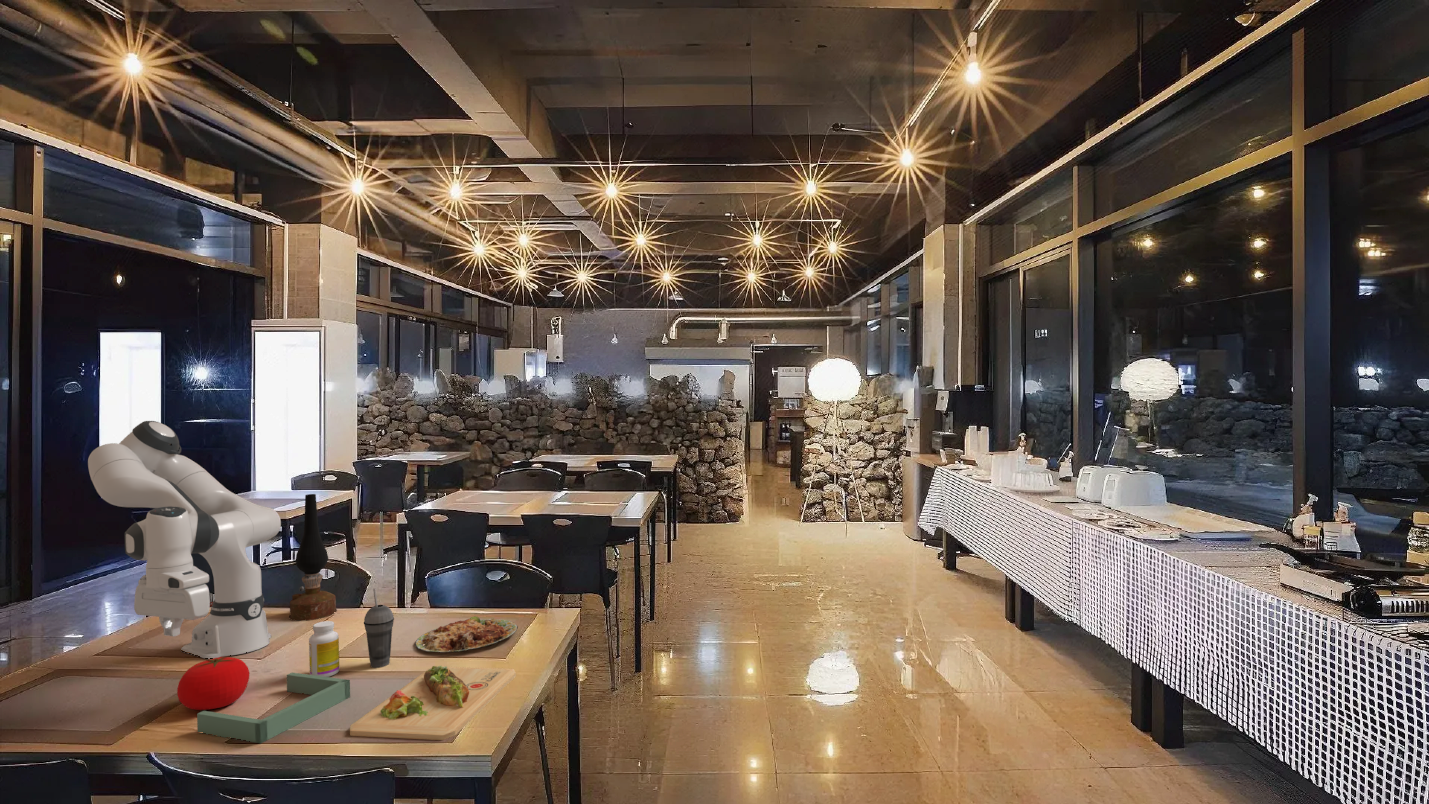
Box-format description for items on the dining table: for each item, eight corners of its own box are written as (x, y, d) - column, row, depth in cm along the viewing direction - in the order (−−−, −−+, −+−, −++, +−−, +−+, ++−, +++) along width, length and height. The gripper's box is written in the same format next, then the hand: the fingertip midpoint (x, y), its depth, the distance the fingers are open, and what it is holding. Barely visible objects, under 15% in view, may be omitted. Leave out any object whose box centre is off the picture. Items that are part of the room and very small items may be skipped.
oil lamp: (344, 620, 235) (370, 500, 239) (303, 626, 221) (332, 499, 225) (314, 611, 240) (340, 494, 244) (273, 616, 226) (301, 492, 230)
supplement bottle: (345, 670, 182) (344, 620, 182) (323, 680, 176) (322, 629, 176) (325, 667, 184) (324, 618, 184) (303, 677, 178) (302, 626, 178)
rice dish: (393, 654, 197) (392, 635, 197) (461, 619, 223) (460, 603, 222) (475, 666, 187) (474, 646, 187) (536, 629, 213) (535, 611, 213)
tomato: (212, 720, 155) (211, 672, 155) (162, 717, 157) (161, 670, 157) (264, 692, 169) (263, 649, 169) (217, 690, 171) (216, 647, 171)
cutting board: (449, 743, 144) (449, 706, 144) (343, 738, 147) (342, 702, 147) (519, 675, 178) (518, 646, 178) (432, 672, 181) (431, 643, 181)
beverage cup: (383, 670, 182) (381, 593, 181) (358, 668, 183) (356, 591, 183) (401, 660, 189) (399, 585, 189) (377, 658, 190) (375, 584, 190)
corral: (197, 732, 149) (197, 713, 149) (292, 688, 171) (292, 672, 171) (260, 743, 144) (260, 723, 144) (350, 696, 166) (349, 679, 166)
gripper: (124, 577, 167) (126, 636, 167) (187, 582, 160) (189, 643, 160) (153, 571, 173) (155, 627, 173) (214, 575, 166) (216, 634, 166)
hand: (172, 635), depth 167 cm, fingers closed
